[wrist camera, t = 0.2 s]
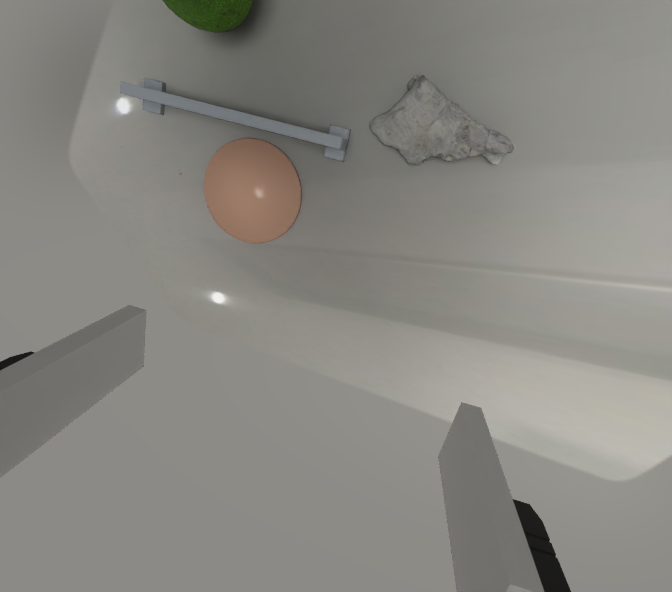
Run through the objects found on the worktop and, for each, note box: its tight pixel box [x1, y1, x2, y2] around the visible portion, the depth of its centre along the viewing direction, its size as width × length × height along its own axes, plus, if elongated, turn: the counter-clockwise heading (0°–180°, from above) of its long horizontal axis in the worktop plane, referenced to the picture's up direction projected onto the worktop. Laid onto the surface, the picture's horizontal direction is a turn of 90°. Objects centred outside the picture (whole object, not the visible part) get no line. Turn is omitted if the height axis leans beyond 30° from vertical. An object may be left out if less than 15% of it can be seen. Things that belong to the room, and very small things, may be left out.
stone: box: [369, 75, 514, 165], centre depth 34 cm, size 6×12×4 cm, turn 58°
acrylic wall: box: [120, 78, 351, 161], centre depth 36 cm, size 3×22×4 cm, turn 77°
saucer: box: [204, 138, 301, 243], centre depth 40 cm, size 11×11×1 cm
